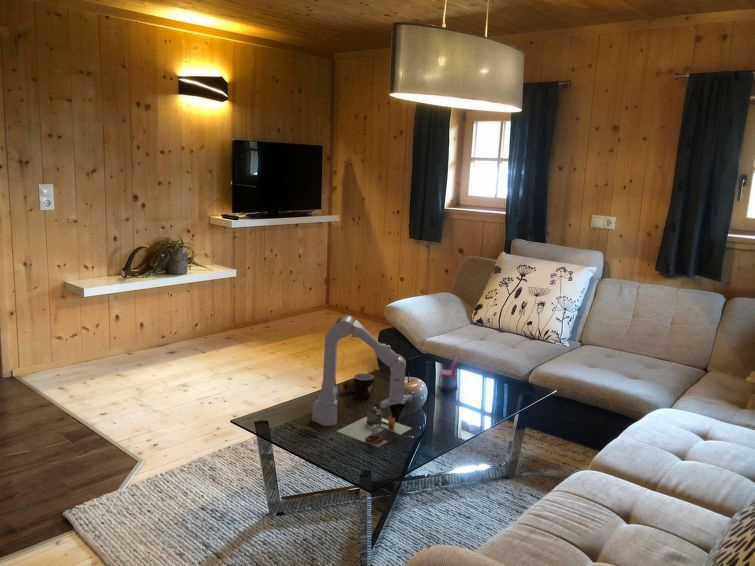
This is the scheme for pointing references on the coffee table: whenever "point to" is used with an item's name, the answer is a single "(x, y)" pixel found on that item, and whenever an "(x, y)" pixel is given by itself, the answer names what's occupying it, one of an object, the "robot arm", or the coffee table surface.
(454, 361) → the toy chair
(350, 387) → the stone weight
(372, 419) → the cylinder
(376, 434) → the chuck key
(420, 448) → the coffee table surface
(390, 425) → the lever
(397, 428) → the board
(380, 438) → the frame
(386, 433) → the rubber pad
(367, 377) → the coffee mug
